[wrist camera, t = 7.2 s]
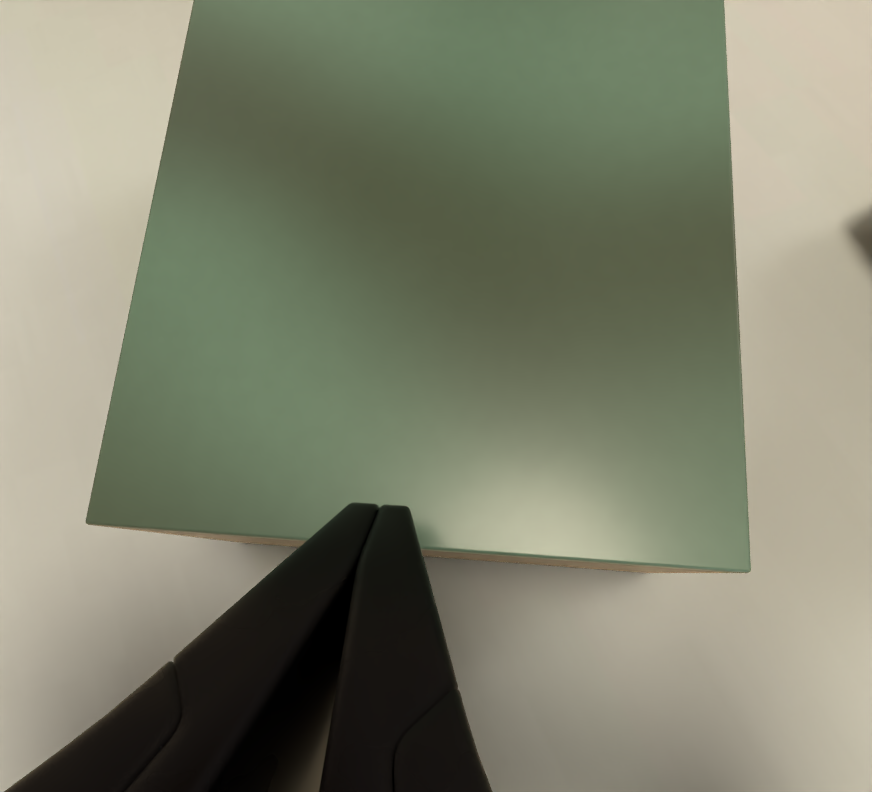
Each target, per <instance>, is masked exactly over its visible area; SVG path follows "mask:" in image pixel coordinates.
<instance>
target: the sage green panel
mask: <svg viewBox="0 0 872 792" xmlns="http://www.w3.org/2000/svg"><path fill="white" fill-rule="evenodd" d="M354 502H358V503H373V504H377V505H378V506H379V507H381V506H382V505H384V504H388V505H403V506H407V507H409V508H410V511H411V514H412V518H413V522H414V525H415V529H416V533H417V536H418V540H419V544H420V548H421V550H428V551H442V552H455V553H469V554H482V555H496V556H510V557H523V558H537V559H550V560H564V561H577V562H591V563H605V564H618V565H632V566H645V567H659V568H672V569H686V570H700V571H713V572H727V573H749V572H750V571H751V563H750V542H749V521H748V499H747V478H746V457H745V436H744V415H743V394H742V373H741V351H740V330H739V309H738V288H737V267H736V246H735V224H734V203H733V182H732V161H731V140H730V119H729V98H728V76H727V55H726V34H725V13H724V0H194V2H193V7H192V12H191V17H190V22H189V26H188V31H187V36H186V41H185V46H184V50H183V55H182V60H181V65H180V70H179V75H178V79H177V84H176V89H175V94H174V99H173V103H172V108H171V113H170V118H169V123H168V127H167V132H166V137H165V142H164V147H163V151H162V156H161V161H160V166H159V171H158V176H157V180H156V185H155V190H154V195H153V200H152V204H151V209H150V214H149V219H148V224H147V228H146V233H145V238H144V243H143V248H142V253H141V257H140V262H139V267H138V272H137V277H136V281H135V286H134V291H133V296H132V301H131V305H130V310H129V315H128V320H127V325H126V329H125V334H124V339H123V344H122V349H121V354H120V358H119V363H118V368H117V373H116V378H115V382H114V387H113V392H112V397H111V402H110V406H109V411H108V416H107V421H106V426H105V430H104V435H103V440H102V445H101V450H100V455H99V459H98V464H97V469H96V474H95V479H94V483H93V488H92V493H91V498H90V503H89V507H88V512H87V517H86V523H87V524H88V525H96V526H104V527H116V528H130V529H143V530H157V531H170V532H184V533H198V534H211V535H225V536H238V537H252V538H265V539H279V540H293V541H307V540H308V539H309V538H311V537H312V536H313V535H314V534H315V533H316V532H317V531H319V530H320V529H321V528H322V527H323V526H324V525H325V524H326V523H328V522H329V521H330V520H331V519H332V518H333V517H334V516H336V515H337V514H338V513H339V512H340V511H341V510H342V509H344V508H345V507H346V506H347V505H348V504H350V503H354Z"/></svg>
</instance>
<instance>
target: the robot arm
mask: <svg viewBox="0 0 872 792" xmlns="http://www.w3.org/2000/svg"><path fill="white" fill-rule="evenodd" d="M4 792H492V789H491V787H490V784H489V782H488V779H487V776H486V774H485V771H484V769H483V766H482V764H481V761H480V758H479V756H478V752H477V749H476V746H475V743H474V740H473V736H472V733H471V730H470V727H469V724H468V720H467V717H466V713H465V710H464V706H463V702H462V698H461V695H460V692H459V690H458V685H457V681H456V677H455V674H454V670H453V666H452V663H451V659H450V655H449V651H448V648H447V644H446V640H445V637H444V633H443V629H442V625H441V622H440V618H439V614H438V611H437V607H436V603H435V600H434V596H433V592H432V588H431V585H430V581H429V577H428V574H427V570H426V566H425V562H424V559H423V555H422V551H421V548H420V544H419V540H418V536H417V533H416V529H415V525H414V522H413V518H412V514H411V511H410V508H409V507H407V506H403V505H388V504H384V505H382V506H381V507H379V506H378V505H377V504H373V503H358V502H354V503H350V504H348V505H347V506H346V507H345V508H344V509H342V510H341V511H340V512H339V513H338V514H337V515H336V516H334V517H333V518H332V519H331V520H330V521H329V522H328V523H326V524H325V525H324V526H323V527H322V528H321V529H320V530H319V531H317V532H316V533H315V534H314V535H313V536H312V537H311V538H309V539H308V540H307V541H306V542H305V543H304V544H303V545H301V546H300V547H299V548H298V549H297V550H296V551H295V552H293V553H292V554H291V555H290V556H289V557H288V558H287V559H285V560H284V561H283V562H282V563H281V564H280V565H279V566H277V567H276V568H275V569H274V570H273V571H272V572H271V573H269V574H268V575H267V576H266V577H265V578H264V579H263V580H261V581H260V582H259V583H258V584H257V585H256V586H255V587H254V588H252V589H251V590H250V591H249V592H248V593H247V594H246V595H244V596H243V597H242V598H241V599H240V600H239V601H238V602H236V603H235V604H234V605H233V606H232V607H231V608H230V609H228V610H227V611H226V612H225V613H224V614H223V615H222V616H220V617H219V618H218V619H217V620H216V621H215V622H214V623H212V624H211V625H210V626H209V627H208V628H207V629H206V630H204V631H203V632H202V633H201V634H200V635H199V636H198V637H196V638H195V639H194V640H193V641H192V642H191V643H190V644H189V645H187V646H186V647H185V648H184V649H183V650H182V651H181V652H179V653H178V654H177V655H176V656H175V657H174V663H173V662H168V663H166V664H165V665H164V666H163V667H162V668H161V669H160V670H159V671H157V672H156V673H155V674H154V675H153V676H152V677H151V678H149V679H148V680H147V681H146V682H145V683H144V684H142V685H141V686H140V687H139V688H138V689H136V690H135V691H134V692H133V693H132V694H130V695H129V696H128V697H127V698H126V699H125V700H123V701H122V702H121V703H120V704H119V705H117V706H116V707H115V708H114V709H113V710H111V711H110V712H109V713H108V714H107V715H105V716H104V717H103V718H101V719H100V720H99V721H98V722H96V723H95V724H94V725H92V726H91V727H90V728H88V729H87V730H86V731H85V732H83V733H82V734H81V735H79V736H78V737H77V738H75V739H74V740H73V741H72V742H70V743H69V744H68V745H66V746H65V747H64V748H62V749H61V750H60V751H58V752H57V753H56V754H54V755H53V756H52V757H50V758H49V759H48V760H46V761H45V762H44V763H42V764H41V765H40V766H38V767H37V768H36V769H34V770H33V771H31V772H30V773H29V774H27V775H26V776H25V777H23V778H22V779H21V780H19V781H18V782H17V783H15V784H14V785H13V786H11V787H10V788H8V789H7V790H6V791H4Z"/></svg>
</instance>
